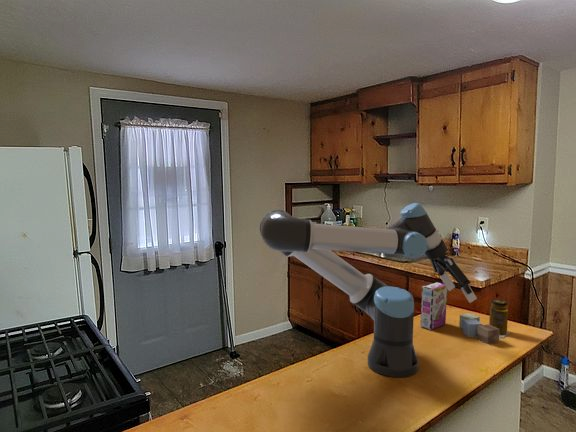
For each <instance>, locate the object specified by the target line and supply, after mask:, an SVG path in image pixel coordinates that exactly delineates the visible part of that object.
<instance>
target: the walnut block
mask: <svg viewBox="0 0 576 432" xmlns="http://www.w3.org/2000/svg"><path fill="white" fill-rule="evenodd" d="M499 335H500V329H498V328H496V327H494V326H491V325H489V323H488V324H482V325H479V326H477V337H476V339H477V340H478V341H481V342H482V343H484V344H486V345H492V344H498V343H499V344H500V337H499Z"/></svg>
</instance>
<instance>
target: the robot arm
mask: <svg viewBox="0 0 576 432" xmlns="http://www.w3.org/2000/svg"><path fill="white" fill-rule="evenodd" d="M399 213H400V217H401V218H400V219H398V220H397V221H396V222H394V223H393V224H391V225H390V226H387V228H378V227H376V228H375V227H363V226H351V225H336V224H324V223H314V222H313V221H312V220H311V219H306V218H305V219H304V218H300V217H299V218H298V217H295V216H292V215H291V214H290V213H288V212H287V211H284V210H281V209H275V210H271V211H269V212H267V213H266V214H265V215H264V217H263V218H262V220H261V221H260V224H259V233H260V236H261V238H262V240H263V242H264V244H265V245H266V246H267V247H268V248H269V249H271V250H273V251H276V252H280V253H281V254H283V255H284V256H285V257H286V258H287V257H288V258H289V257H294V258H296V259H298V260H299V261H300V262H302V263H303V264H304V265H306V266H307V267H308V268H311V270H313V271H314V272H316V273H317V274H319V276H321V277H322V278H324V279H326V280H327V281H329V282H330V283H331V284H333V285H334V286H336V287H337V288H338V289H340V290H341V291H343V292H344V293H345V294H347V295H348V296H349V302H350V303H352V304H353V305H355V307H356V306H357V308H359V309H360V310H362V311H363V312H365V314H367V315H368V317H370V318H371V320H373V340H372V343H371V346H370V348H369V351H368V354H367V365H368V367H369V368H370V369H371V370H372V371H373V372H375V373H378V374H379V375H383V376H386V377H391V378H406V377H410V376H413V375H416V373H418V371H419V359H418V357H417V356H418V355H417V353H416V349H415V345H414V317H415V315H414V314H415V302H414V296H413V295H412V294H411V293H410V292H409V291H407V290H406V289H404V288H400V287H396V286H390V285H389V286H388V285H387V284H386V283H384V282H383V281H381V280H380V279H378V278H377V277H375V276H374V275H373V274H371V273H366V274H364V273H362V272H361V271H359V270H358V269H357V268H355V267H354V266H353V265H352V264H350V263H349V262H347V261H346V260H344V259H343V258H342V257H340V256H339V255H337V254H336V253H335V252H334V251H336V252H337V251H339V252H340V251H341V252H357V253H372V254H384V255H387V256H388V255H395V256H397V255H398V256H406V257H409V258H414V259H417V258H421V257H422V256H424V255H425V257H426V259H427V260H429V261H430V263H431V266H432V269H433V271H434V273H437V274H436V275H438V276H439V277H440V279H441V281H442V284H445V286H446V287H447V292H450V291H452V290H454V289H455V288H456V286H455V283H454V282H453V280H452V279H451V277H452V278H453V279H454V280H455V281H456V283H457V284H458V285H459V286H458V289H461V291H462V293H463V295H464V296H465V299H466V300H467V302H468V303H469V304H471V303H473V302H475V300H477V299H478V298H477V296H476V295H475V293H474V291H473V290H472V288H471V286H470V284H471V283H472V282H471V280H469V278H468V277H467V276H466V275H465V274H464V272H463V271H462V270H461V269H460V267H459V266H458V265H457V264H456V262H455V260H454V259H453V257H449V256H448V255H446V253H447V252H448V247H447V245H446V243H445V241H444V240H443V239H442V236H441V235H440V233H439V232H440V231H439V229H437V228H436V226H435V225H434V223H433V222H432V220H431V218H430V217H429V215H428V212H427V210H425V208H424V207H423V206H422V204H421V203H419V202H413V203H410V204H408V205H406V206H405V207H404V208H403V209H401V210H400V211H399ZM449 275H450V276H451V277H450V276H449Z"/></svg>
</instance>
